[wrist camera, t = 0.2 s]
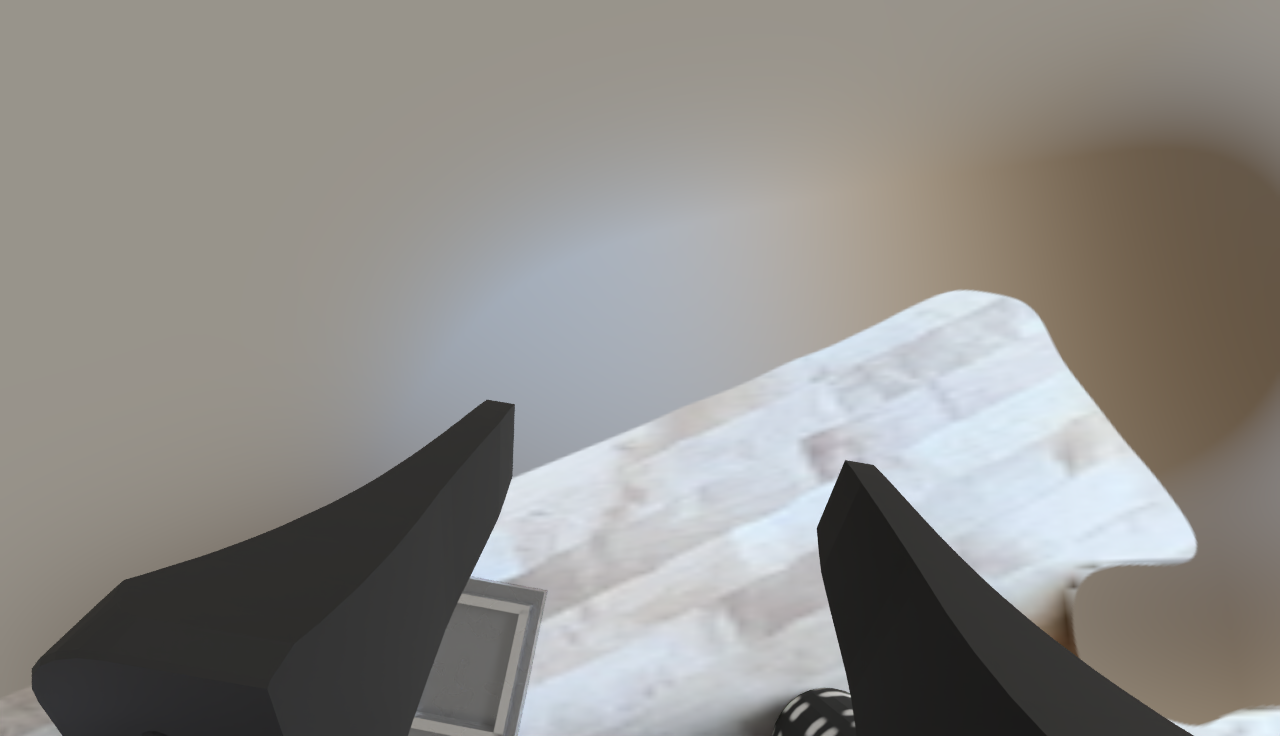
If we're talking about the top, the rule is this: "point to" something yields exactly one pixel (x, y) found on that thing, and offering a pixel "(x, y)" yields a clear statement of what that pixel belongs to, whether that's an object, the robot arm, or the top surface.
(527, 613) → the grey long flat piece
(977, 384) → the top surface
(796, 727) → the white-spotted black cylinder
